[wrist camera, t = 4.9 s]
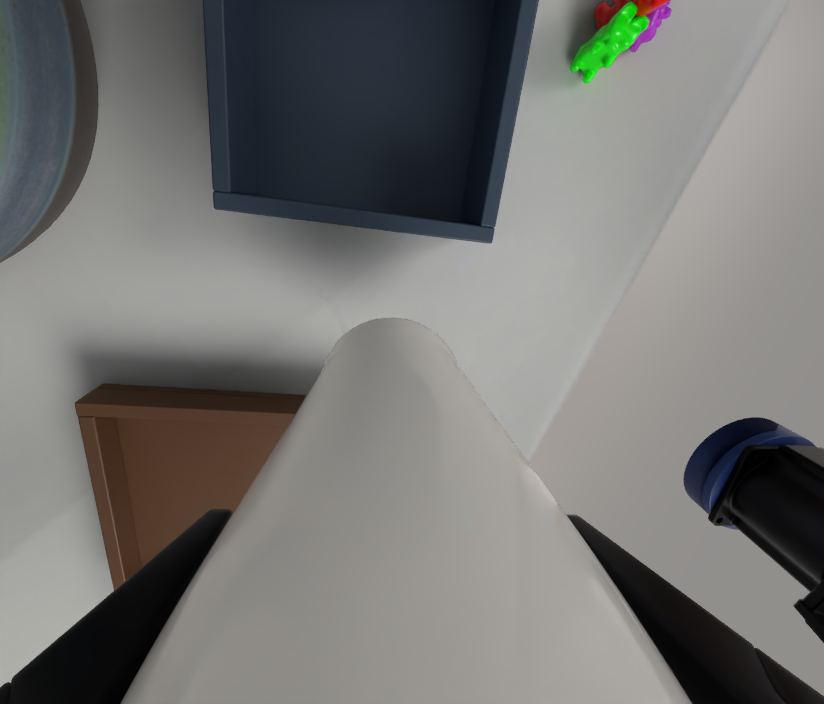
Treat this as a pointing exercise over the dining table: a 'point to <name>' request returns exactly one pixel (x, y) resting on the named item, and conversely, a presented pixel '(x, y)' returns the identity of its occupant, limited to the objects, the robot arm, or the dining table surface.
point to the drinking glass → (400, 561)
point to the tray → (172, 460)
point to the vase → (43, 114)
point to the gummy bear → (619, 32)
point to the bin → (366, 110)
